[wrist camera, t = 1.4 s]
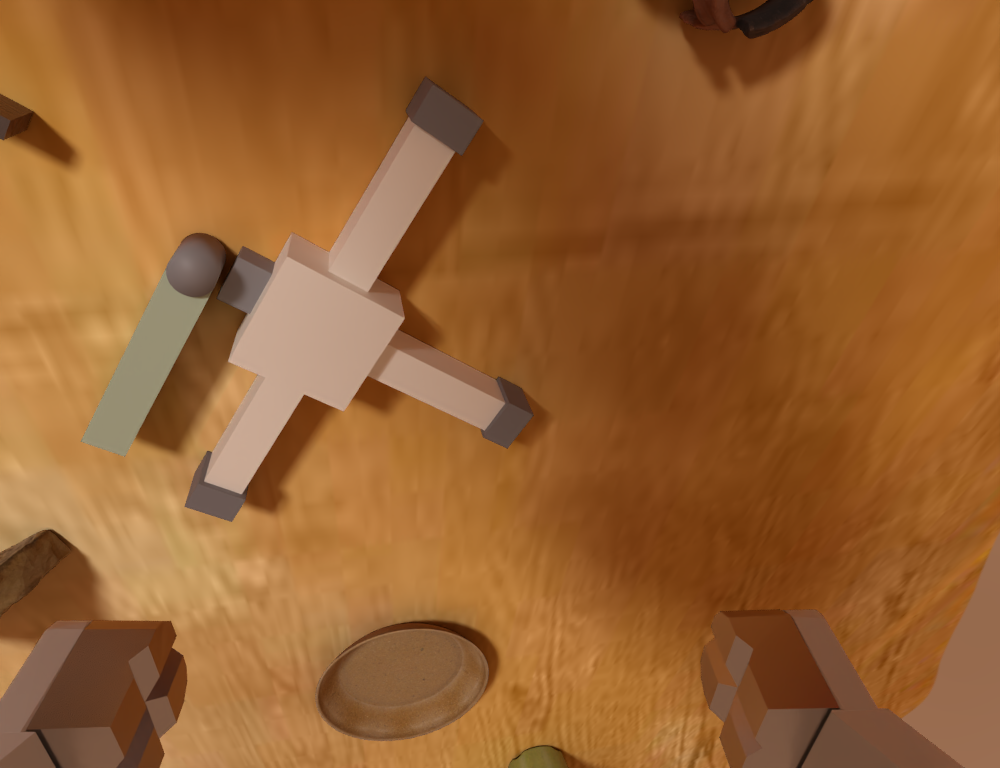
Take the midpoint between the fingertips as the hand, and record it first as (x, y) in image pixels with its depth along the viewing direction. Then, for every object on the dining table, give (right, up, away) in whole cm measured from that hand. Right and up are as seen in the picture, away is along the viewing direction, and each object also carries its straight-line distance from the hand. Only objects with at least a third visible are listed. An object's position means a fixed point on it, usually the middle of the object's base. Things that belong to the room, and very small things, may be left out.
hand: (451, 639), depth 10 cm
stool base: (-7, +6, +31) cm, 33 cm away
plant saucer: (-8, -21, +48) cm, 53 cm away
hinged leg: (-19, +7, +28) cm, 34 cm away
